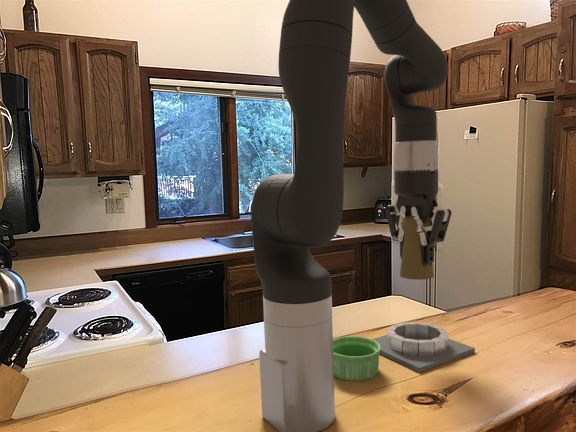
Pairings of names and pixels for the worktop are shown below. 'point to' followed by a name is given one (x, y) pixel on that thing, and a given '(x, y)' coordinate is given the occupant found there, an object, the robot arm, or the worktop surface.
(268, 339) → the robot arm
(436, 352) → the ring collar
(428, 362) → the fitting mat
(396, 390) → the worktop surface
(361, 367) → the ramekin
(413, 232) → the cork
